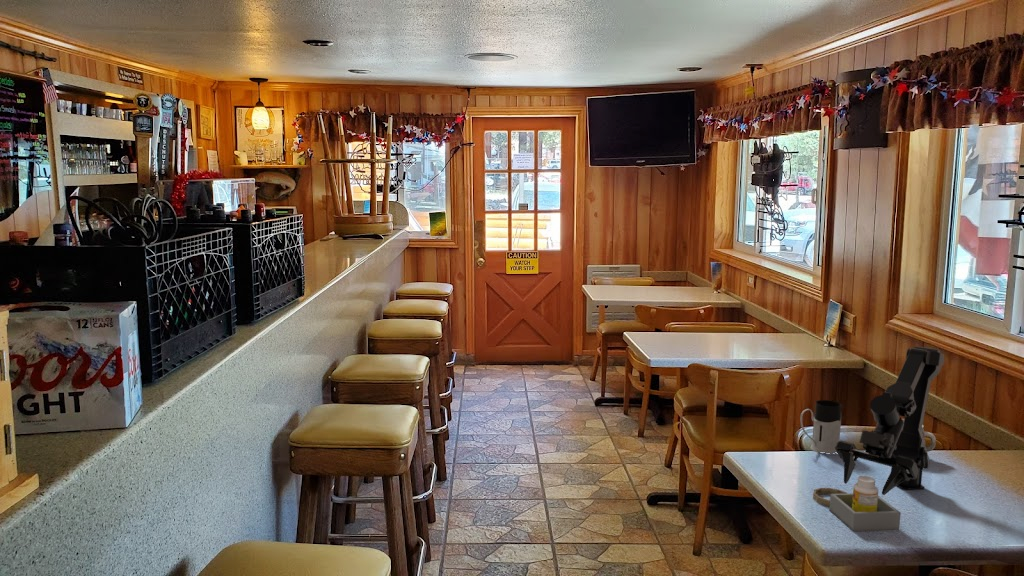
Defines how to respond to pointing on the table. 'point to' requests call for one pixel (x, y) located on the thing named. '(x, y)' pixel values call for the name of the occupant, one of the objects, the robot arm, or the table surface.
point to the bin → (864, 514)
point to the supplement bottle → (865, 495)
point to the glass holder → (825, 426)
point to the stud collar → (825, 491)
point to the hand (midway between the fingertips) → (863, 488)
